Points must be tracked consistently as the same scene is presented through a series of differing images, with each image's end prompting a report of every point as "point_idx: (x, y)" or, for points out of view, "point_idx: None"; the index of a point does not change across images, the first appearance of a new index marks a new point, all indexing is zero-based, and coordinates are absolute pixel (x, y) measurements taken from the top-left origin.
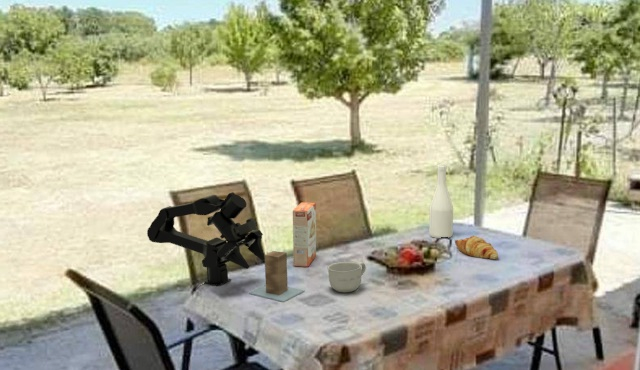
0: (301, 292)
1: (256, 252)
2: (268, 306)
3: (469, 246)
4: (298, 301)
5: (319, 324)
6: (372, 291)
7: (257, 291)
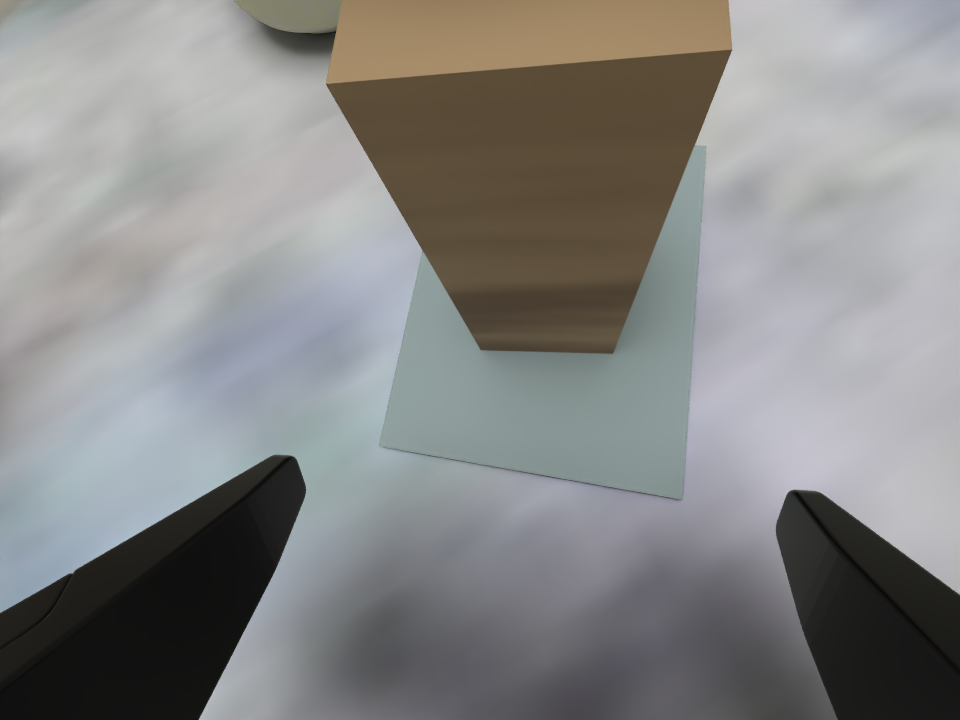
0: None
1: (164, 688)
2: (841, 199)
3: None
4: None
5: None
6: None
7: (618, 439)
